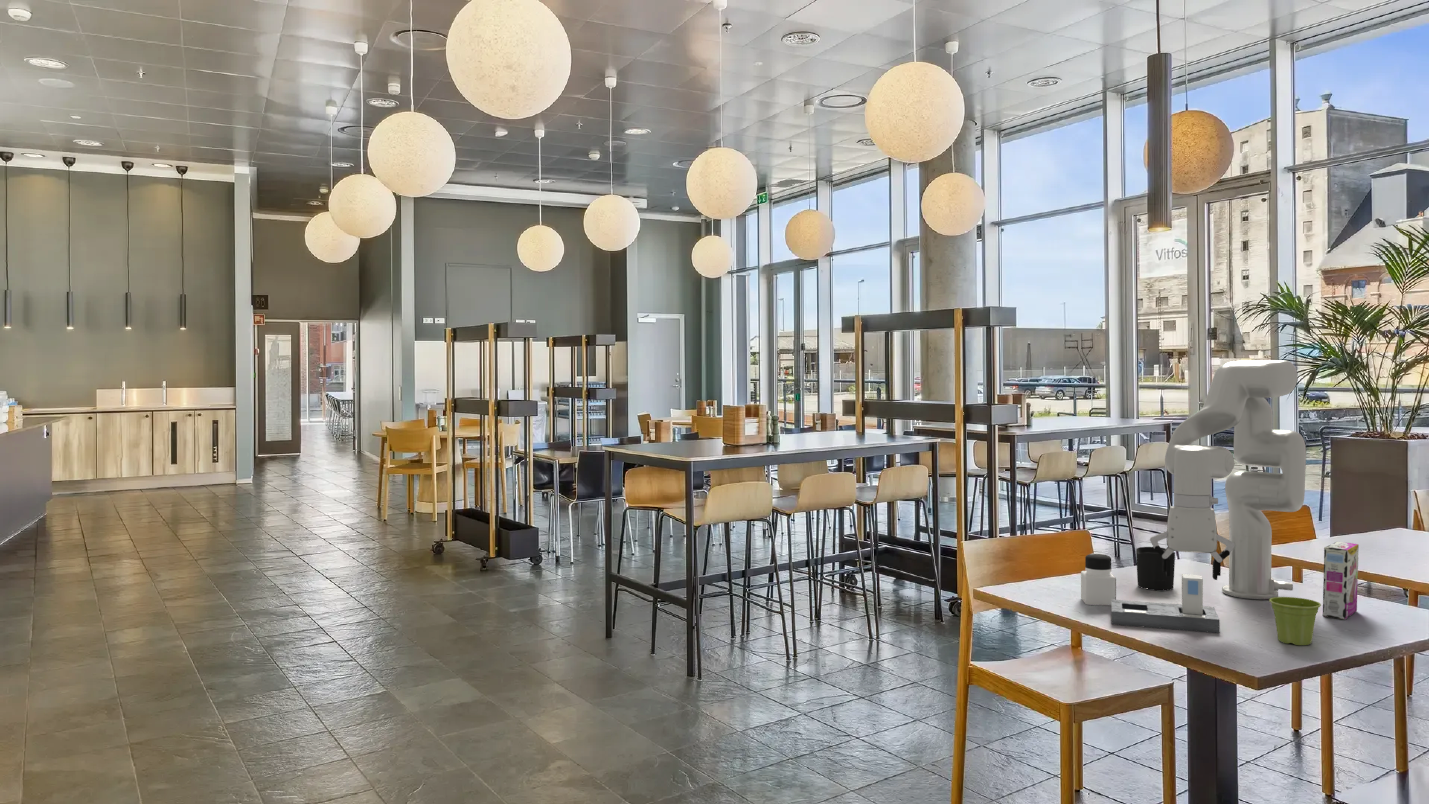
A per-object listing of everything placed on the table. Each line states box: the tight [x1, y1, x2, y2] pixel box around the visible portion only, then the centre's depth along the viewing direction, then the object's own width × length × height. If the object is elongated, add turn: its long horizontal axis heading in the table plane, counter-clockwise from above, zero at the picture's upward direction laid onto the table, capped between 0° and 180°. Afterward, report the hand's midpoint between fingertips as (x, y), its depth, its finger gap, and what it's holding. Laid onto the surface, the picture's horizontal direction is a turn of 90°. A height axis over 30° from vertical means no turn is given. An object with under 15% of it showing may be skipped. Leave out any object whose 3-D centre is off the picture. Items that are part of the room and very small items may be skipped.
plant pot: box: [1268, 596, 1322, 646], centre depth 204 cm, size 9×9×9 cm
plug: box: [1181, 573, 1204, 615], centre depth 218 cm, size 4×5×11 cm
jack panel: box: [1110, 599, 1221, 634], centre depth 221 cm, size 22×12×3 cm, turn 68°
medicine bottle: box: [1080, 553, 1117, 607], centre depth 240 cm, size 7×7×12 cm
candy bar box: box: [1322, 541, 1360, 620], centre depth 225 cm, size 11×5×16 cm, turn 134°
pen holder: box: [1135, 546, 1176, 591], centre depth 255 cm, size 9×9×10 cm
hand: (1191, 577), depth 218 cm, fingers open, 9 cm apart
